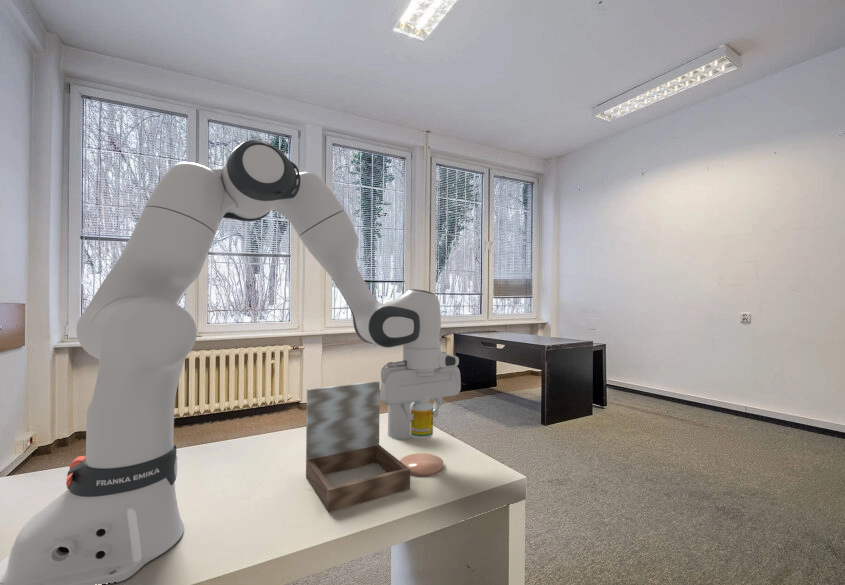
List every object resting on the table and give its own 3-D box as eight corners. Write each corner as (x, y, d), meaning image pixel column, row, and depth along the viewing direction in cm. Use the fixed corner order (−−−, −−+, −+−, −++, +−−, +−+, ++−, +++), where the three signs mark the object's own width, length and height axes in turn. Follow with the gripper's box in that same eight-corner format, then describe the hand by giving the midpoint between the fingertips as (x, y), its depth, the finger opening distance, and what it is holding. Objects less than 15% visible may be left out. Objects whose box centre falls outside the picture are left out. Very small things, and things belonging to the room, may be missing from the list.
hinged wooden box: (328, 512, 70) (329, 407, 70) (305, 477, 83) (306, 389, 84) (410, 489, 78) (410, 395, 79) (377, 460, 92) (378, 381, 92)
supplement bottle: (408, 432, 91) (408, 392, 91) (429, 430, 93) (430, 390, 93) (412, 440, 86) (412, 397, 86) (435, 438, 87) (435, 396, 87)
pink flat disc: (413, 480, 82) (413, 475, 82) (392, 462, 91) (392, 458, 91) (451, 469, 87) (451, 465, 87) (428, 454, 96) (428, 450, 96)
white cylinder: (421, 435, 109) (422, 393, 109) (397, 441, 104) (397, 397, 105) (406, 427, 116) (406, 387, 116) (382, 432, 111) (383, 391, 111)
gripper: (387, 365, 81) (387, 430, 81) (464, 357, 92) (464, 415, 92) (375, 360, 87) (375, 422, 87) (449, 354, 97) (449, 408, 97)
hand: (421, 418), depth 89 cm, fingers closed on supplement bottle, 5 cm apart
